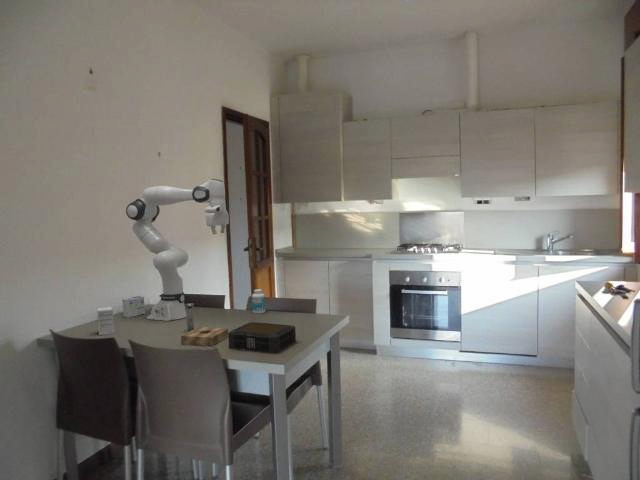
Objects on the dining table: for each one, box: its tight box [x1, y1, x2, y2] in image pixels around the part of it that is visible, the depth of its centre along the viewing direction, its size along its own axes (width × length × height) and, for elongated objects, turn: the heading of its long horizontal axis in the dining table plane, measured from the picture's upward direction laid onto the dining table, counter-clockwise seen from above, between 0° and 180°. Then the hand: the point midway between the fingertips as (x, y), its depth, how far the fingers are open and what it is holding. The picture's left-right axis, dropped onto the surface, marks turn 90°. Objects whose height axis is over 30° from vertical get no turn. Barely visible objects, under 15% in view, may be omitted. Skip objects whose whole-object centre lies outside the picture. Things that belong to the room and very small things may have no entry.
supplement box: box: [96, 306, 115, 336], centre depth 252 cm, size 7×7×13 cm
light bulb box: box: [121, 295, 146, 318], centre depth 289 cm, size 11×7×11 cm, turn 144°
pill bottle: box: [251, 288, 266, 315], centre depth 287 cm, size 8×7×14 cm
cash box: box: [227, 321, 297, 354], centre depth 222 cm, size 25×20×8 cm
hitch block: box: [180, 326, 229, 347], centre depth 232 cm, size 16×16×4 cm
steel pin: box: [184, 302, 195, 333], centre depth 250 cm, size 4×4×14 cm
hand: (218, 233), depth 270 cm, fingers open, 8 cm apart
